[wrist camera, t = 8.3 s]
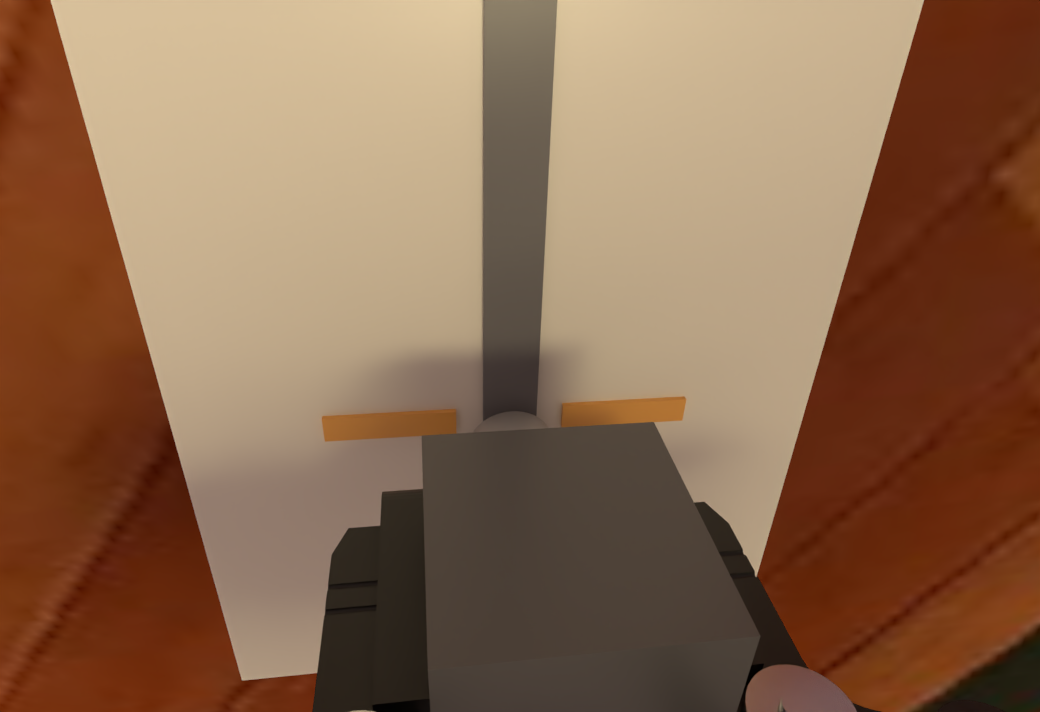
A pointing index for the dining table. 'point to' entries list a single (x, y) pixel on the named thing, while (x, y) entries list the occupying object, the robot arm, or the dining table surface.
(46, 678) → the dining table surface
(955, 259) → the dining table surface
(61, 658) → the dining table surface
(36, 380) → the dining table surface
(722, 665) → the fader
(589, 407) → the dimmer panel
